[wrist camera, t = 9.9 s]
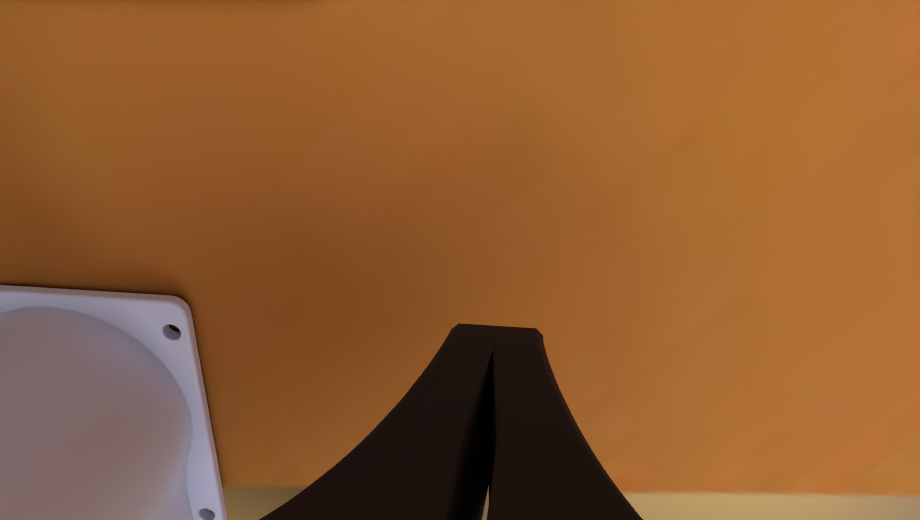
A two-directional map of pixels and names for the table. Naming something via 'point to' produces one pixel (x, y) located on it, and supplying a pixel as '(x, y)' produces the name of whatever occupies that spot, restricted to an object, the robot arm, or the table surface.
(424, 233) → the table surface
